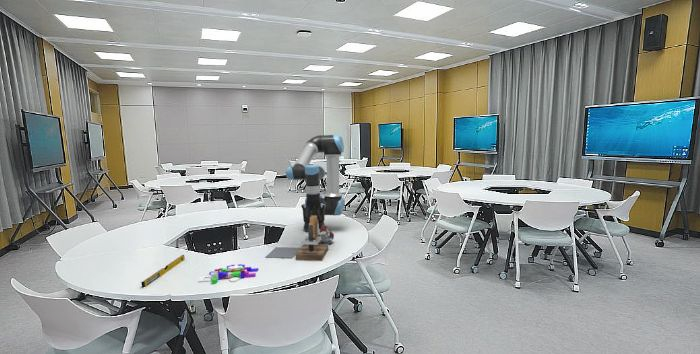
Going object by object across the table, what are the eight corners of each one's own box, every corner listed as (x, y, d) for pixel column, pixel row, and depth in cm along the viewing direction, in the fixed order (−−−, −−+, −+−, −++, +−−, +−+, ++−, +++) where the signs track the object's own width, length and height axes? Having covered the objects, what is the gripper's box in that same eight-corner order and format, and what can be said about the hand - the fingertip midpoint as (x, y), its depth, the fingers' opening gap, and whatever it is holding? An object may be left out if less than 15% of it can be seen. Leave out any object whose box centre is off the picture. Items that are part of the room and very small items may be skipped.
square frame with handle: (307, 236, 191) (306, 215, 190) (323, 236, 190) (322, 215, 188) (300, 244, 177) (299, 222, 176) (317, 244, 176) (316, 222, 175)
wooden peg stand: (304, 249, 194) (303, 220, 192) (328, 249, 192) (327, 220, 190) (295, 260, 177) (294, 228, 175) (321, 260, 175) (320, 228, 173)
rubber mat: (275, 247, 197) (275, 247, 197) (300, 248, 195) (300, 247, 195) (265, 257, 182) (265, 256, 181) (292, 258, 179) (292, 257, 179)
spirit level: (182, 260, 181) (181, 254, 181) (184, 260, 181) (184, 254, 181) (141, 288, 148) (141, 281, 148) (144, 288, 148) (144, 281, 148)
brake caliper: (336, 235, 210) (333, 223, 202) (333, 251, 202) (330, 239, 194) (318, 235, 212) (315, 223, 204) (315, 250, 204) (311, 238, 196)
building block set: (260, 265, 173) (259, 256, 172) (254, 282, 153) (253, 272, 152) (209, 268, 170) (208, 259, 169) (195, 286, 149) (195, 276, 149)
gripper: (295, 194, 183) (297, 236, 186) (326, 194, 181) (328, 236, 184) (299, 191, 191) (301, 232, 194) (329, 191, 188) (330, 232, 191)
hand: (314, 234), depth 189 cm, fingers closed on square frame with handle, 4 cm apart
